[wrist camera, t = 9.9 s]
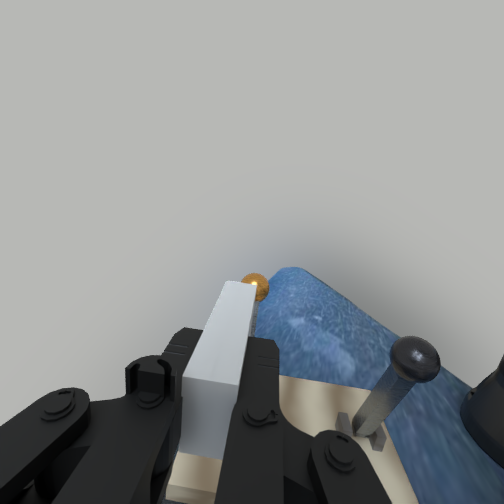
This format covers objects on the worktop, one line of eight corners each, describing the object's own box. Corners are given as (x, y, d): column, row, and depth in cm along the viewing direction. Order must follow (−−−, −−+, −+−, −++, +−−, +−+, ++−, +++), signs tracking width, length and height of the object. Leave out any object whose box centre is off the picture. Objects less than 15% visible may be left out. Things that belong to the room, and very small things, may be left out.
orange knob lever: (251, 411, 33) (270, 276, 36) (250, 424, 29) (271, 274, 32) (221, 405, 33) (242, 272, 36) (217, 418, 29) (241, 269, 32)
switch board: (366, 401, 39) (373, 378, 38) (424, 549, 24) (439, 517, 23) (207, 374, 40) (210, 351, 39) (165, 499, 25) (167, 467, 24)
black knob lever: (370, 416, 33) (437, 330, 23) (378, 452, 30) (458, 371, 20) (340, 411, 33) (394, 324, 23) (344, 446, 30) (408, 363, 20)
